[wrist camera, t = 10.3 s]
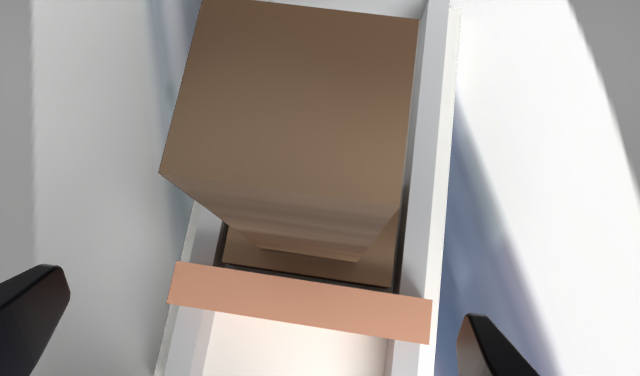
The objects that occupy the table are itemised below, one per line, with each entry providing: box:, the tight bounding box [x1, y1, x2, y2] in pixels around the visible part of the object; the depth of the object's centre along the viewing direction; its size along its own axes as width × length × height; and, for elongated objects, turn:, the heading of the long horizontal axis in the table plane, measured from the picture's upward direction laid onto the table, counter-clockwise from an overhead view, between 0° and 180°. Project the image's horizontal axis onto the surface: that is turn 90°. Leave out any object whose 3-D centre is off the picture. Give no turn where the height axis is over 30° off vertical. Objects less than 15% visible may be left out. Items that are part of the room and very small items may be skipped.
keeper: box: [158, 0, 419, 289], centre depth 14 cm, size 5×7×13 cm
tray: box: [154, 0, 461, 376], centre depth 19 cm, size 21×12×4 cm, turn 172°
